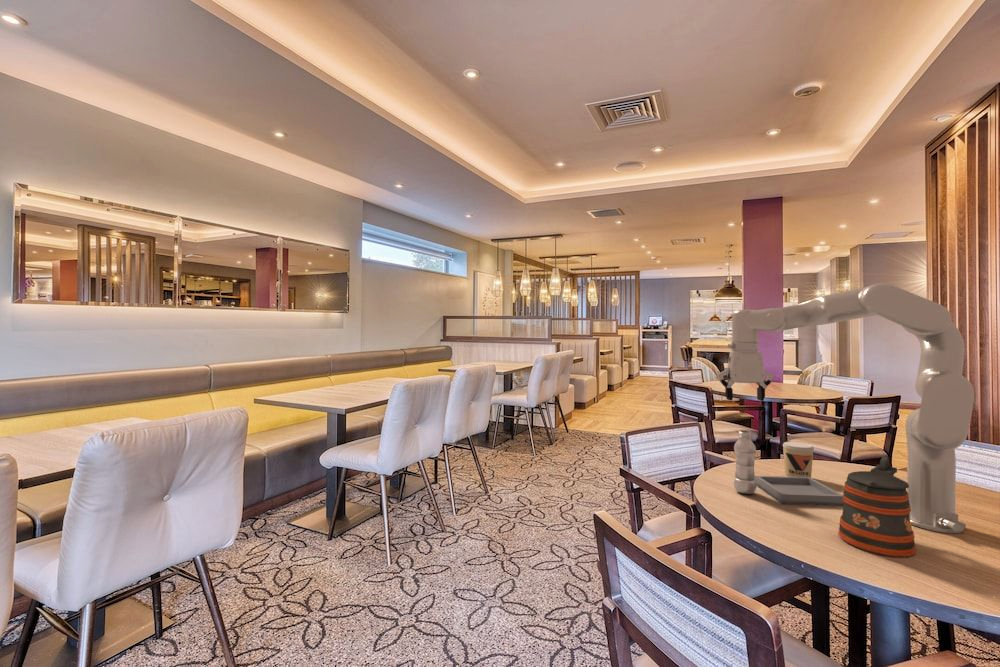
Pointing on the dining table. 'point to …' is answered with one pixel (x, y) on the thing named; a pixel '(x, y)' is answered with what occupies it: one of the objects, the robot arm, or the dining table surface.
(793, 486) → the tray
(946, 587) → the dining table surface
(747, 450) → the plastic bottle
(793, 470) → the coffee cup
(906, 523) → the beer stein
